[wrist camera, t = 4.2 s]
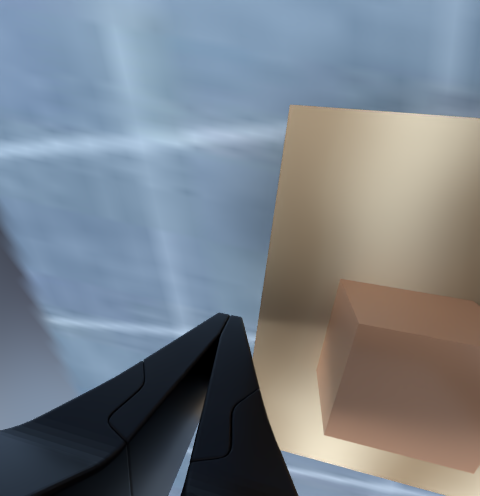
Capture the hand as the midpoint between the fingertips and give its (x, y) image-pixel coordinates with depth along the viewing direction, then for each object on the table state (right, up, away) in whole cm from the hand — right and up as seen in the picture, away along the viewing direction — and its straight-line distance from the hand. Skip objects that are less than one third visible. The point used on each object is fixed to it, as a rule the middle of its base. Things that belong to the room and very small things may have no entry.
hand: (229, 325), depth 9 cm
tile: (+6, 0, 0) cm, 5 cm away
